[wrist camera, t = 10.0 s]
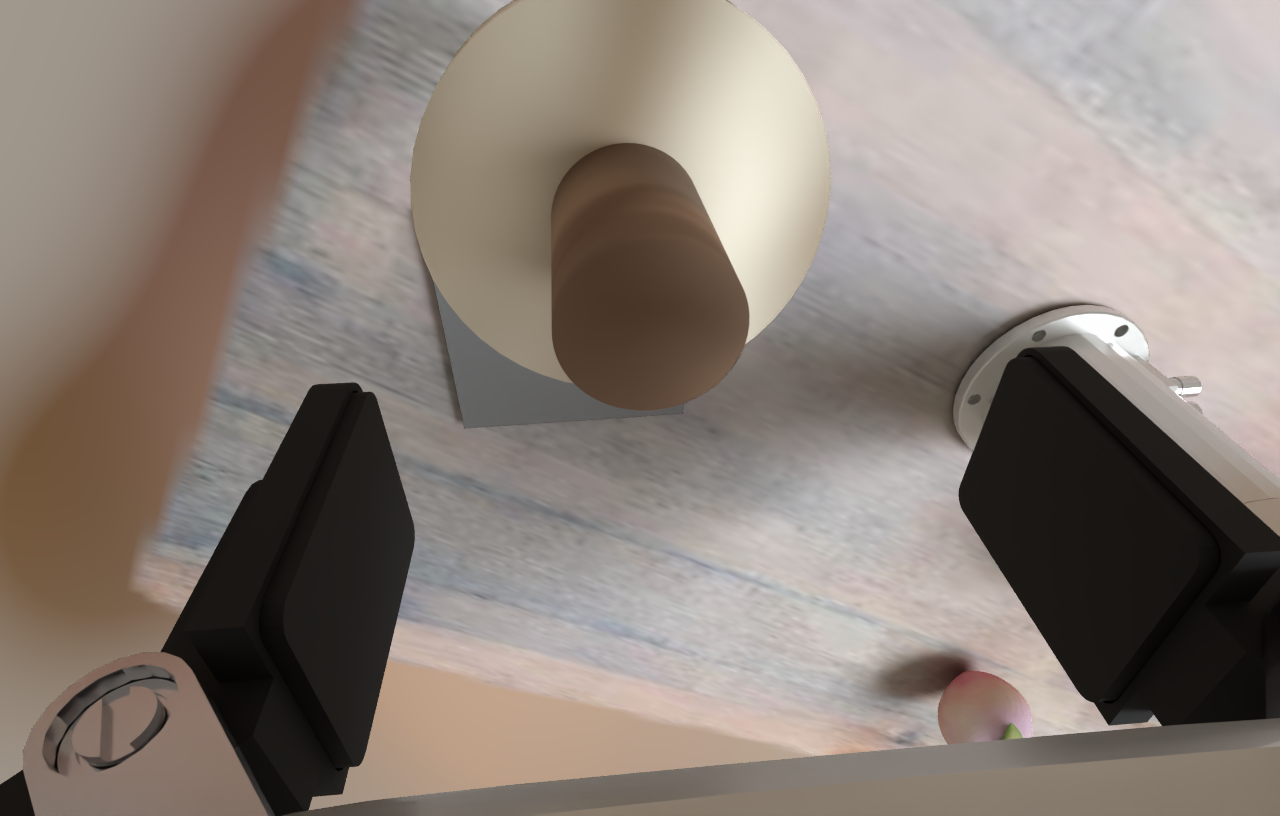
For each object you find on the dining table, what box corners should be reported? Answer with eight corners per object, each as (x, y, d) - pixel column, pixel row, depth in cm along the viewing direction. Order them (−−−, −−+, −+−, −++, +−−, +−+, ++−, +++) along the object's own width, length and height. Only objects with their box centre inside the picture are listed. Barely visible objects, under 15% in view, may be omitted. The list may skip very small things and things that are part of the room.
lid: (845, -38, 15) (999, 4, 10) (790, 351, 21) (867, 502, 16) (370, -24, 14) (269, 30, 9) (458, 376, 20) (428, 542, 15)
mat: (690, 199, 36) (692, 203, 36) (681, 407, 45) (682, 413, 44) (421, 211, 35) (419, 215, 35) (465, 422, 44) (464, 428, 43)
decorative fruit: (914, 663, 68) (962, 766, 60) (997, 638, 66) (1057, 740, 59) (925, 705, 73) (970, 804, 65) (1001, 683, 72) (1056, 782, 64)
